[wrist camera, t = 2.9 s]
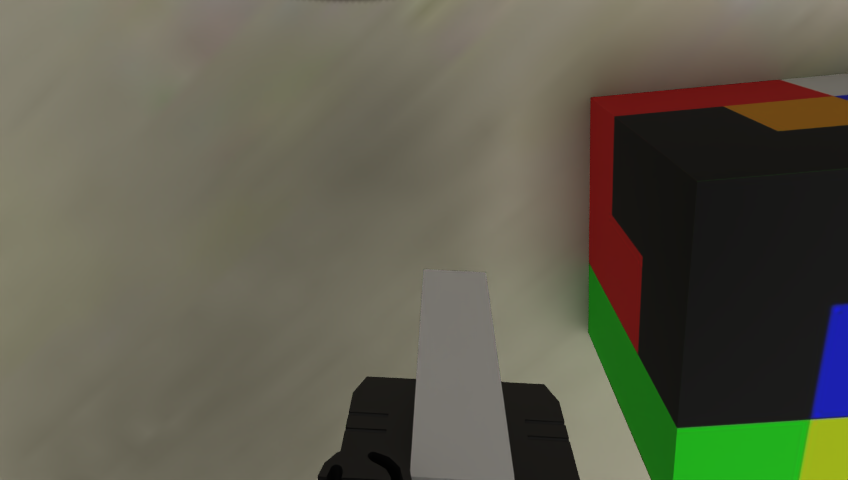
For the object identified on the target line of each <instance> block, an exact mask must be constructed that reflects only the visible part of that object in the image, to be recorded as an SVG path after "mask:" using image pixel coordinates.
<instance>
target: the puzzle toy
mask: <svg viewBox="0 0 848 480" xmlns="http://www.w3.org/2000/svg"><path fill="white" fill-rule="evenodd" d="M588 333H589V335H590V338H591V340H592V342H593V345H594V347H595V349H596V352H597V354H598V356H599V359H600V361H601V363H602V366H603V368H604V370H605V373H606V375H607V378H608V380H609V382H610V385H611V387H612V389H613V392H614V394H615V396H616V399H617V401H618V403H619V406H620V408H621V410H622V413H623V415H624V417H625V420H626V422H627V424H628V427H629V429H630V431H631V434H632V436H633V438H634V441H635V443H636V445H637V448H638V450H639V453H640V455H641V457H642V460H643V462H644V464H645V467H646V469H647V471H648V474H649V476H650V478H651V480H848V73H845V74H835V75H824V76H813V77H803V78H792V79H781V80H771V81H760V82H749V83H739V84H728V85H718V86H707V87H696V88H686V89H675V90H664V91H654V92H643V93H633V94H622V95H611V96H601V97H591V110H590V215H589V319H588Z"/></svg>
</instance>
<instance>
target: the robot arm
mask: <svg viewBox="0 0 848 480" xmlns="http://www.w3.org/2000/svg"><path fill="white" fill-rule="evenodd" d="M318 480H580V478H579V475H578V471H577V467H576V463H575V460H574V456H573V452H572V448H571V445H570V442H569V437H568V433H567V430H566V426H565V425H564V418H563V415H562V411H561V407H560V403H559V401H558V400H557V399H556V398H555V396H554V395H553V394H552V393H551V392H550V391H549V389H548V388H547V387H546V386H545V385H544V384H527V383H509V382H501V378H500V370H499V363H498V356H497V349H496V342H495V334H494V327H493V320H492V313H491V306H490V298H489V291H488V284H487V277H486V272H470V271H451V270H432V269H424V270H423V285H422V300H421V315H420V330H419V345H418V360H417V375H416V379H404V378H385V377H366V378H365V379H364V381H363V382H362V383H361V384H360V385H359V386H358V387H357V389H356V390H355V391H354V392H353V395H352V400H351V405H350V409H349V415H348V419H347V424H346V430H345V433H344V438H343V442H342V447H341V451H340V452H338V453H336V454H335V455H334V456H332V457H331V458H330V459H329V460H328V461H326V462H325V463H324V465H323V467H322V469H321V471H320V473H319V475H318Z"/></svg>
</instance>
